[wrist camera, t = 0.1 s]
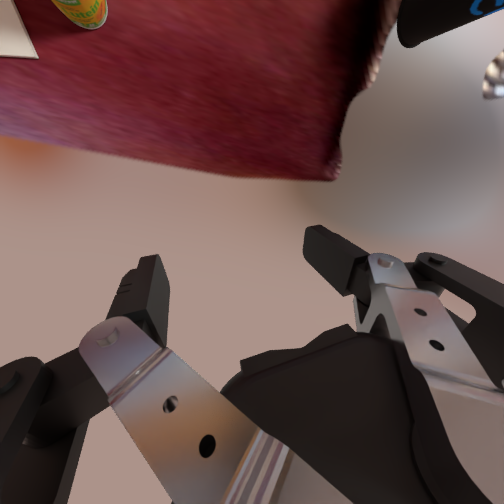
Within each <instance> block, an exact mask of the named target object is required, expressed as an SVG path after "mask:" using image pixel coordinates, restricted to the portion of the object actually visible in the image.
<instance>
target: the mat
mask: <svg viewBox="0 0 504 504" xmlns="http://www.w3.org/2000/svg"><path fill="white" fill-rule="evenodd" d="M0 56H2V57H18V58H35V59H39V58H38V55H37V53H36V51H35V49H34V46H33V44H32V42H31V40H30V37H29V35H28V33H27V30H26V28H25V26H24V24H23V21H22V19H21V17H20V14H19V12H18V10H17V8H16V5H15V3H14V1H13V0H0Z"/></svg>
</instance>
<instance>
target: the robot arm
mask: <svg viewBox="0 0 504 504" xmlns="http://www.w3.org/2000/svg"><path fill="white" fill-rule="evenodd" d="M303 255H304V258H305V259H306V261H307V262H308V263H309V264H310V265H311V266H312V267H313V268H314V269H315V270H316V271H317V272H318V273H320V275H322V277H324V278H325V279H326V280H327V281H328V282H329V283H330V284H331V285H332V286H333V287H334V288H335V289H336V290H337V291H338V292H339V293H340V294H341V295H342V296H343V297H344V296H347V295H350V294H354V295H355V296H354V299H353V304H354V313H355V320H356V327H357V332H355V331H354V330H353V329H352V328H351V327H350V326H349V324H345V325H342V326H339V327H336V328H333V329H330V330H327V331H325V332H323V333H322V334H320V335H319V336H318V337H316V338H315V339H314V340H312V341H311V342H310V343H308V344H307V345H306V346H304V347H302V348H297V349H284V350H283V349H282V350H269V351H266V352H264V353H261V354H258V355H255V356H252V357H249V358H246V359H243V360H240V365H241V371H240V372H239V373H237V374H236V375H235V376H234V377H232V378H231V379H230V380H229V381H228V382H227V384H226V385H225V386H224V387H223V388H222V390H221V391H220V393H219V392H218V391H217V390H216V389H215V388H214V387H212V386H211V385H210V384H209V383H208V382H207V381H206V380H205V379H204V378H202V377H201V376H200V375H199V374H198V373H197V372H196V371H195V370H193V369H192V368H191V367H190V366H189V365H188V364H187V363H185V362H184V361H183V360H182V359H181V358H180V357H179V356H178V355H176V354H175V353H174V352H173V351H172V350H171V349H169V348H168V347H166V343H167V328H168V312H169V297H170V286H169V281H168V278H167V275H166V272H165V269H164V266H163V263H162V261H161V258H160V256H159V255H158V254H156V255H150V256H145V257H141V258H140V260H139V264H138V267H137V269H132V270H130V271H129V272H128V273H127V274H126V275H125V276H124V277H123V278H122V280H121V283H120V285H119V288H118V290H117V295H115V297H114V300H113V302H112V305H111V307H110V310H109V312H108V315H107V317H106V319H105V321H103V322H101V323H99V324H98V325H96V326H95V327H93V328H92V329H91V330H90V331H89V332H88V333H87V334H86V335H85V336H84V337H83V339H82V340H81V342H80V344H79V347H78V348H76V349H74V350H72V351H70V352H68V353H66V354H64V355H62V356H60V357H58V358H55V359H54V360H52V361H49V362H47V363H45V364H44V363H43V362H42V361H41V360H40V359H38V358H37V357H25V358H21V359H18V360H15V361H12V362H10V363H8V364H6V365H4V366H2V367H0V504H67V502H68V498H69V495H70V491H71V487H72V483H73V480H74V476H75V472H76V469H77V465H78V461H79V457H80V454H81V450H82V446H83V442H84V439H85V435H86V431H87V427H88V423H89V420H90V418H92V417H93V416H95V415H96V414H98V413H100V412H101V411H103V410H104V409H106V408H107V407H109V406H111V407H112V409H113V410H114V411H115V413H116V415H117V416H118V418H119V420H120V421H121V423H122V424H123V425H124V427H125V429H126V430H127V432H128V433H129V435H130V436H131V438H132V439H133V441H134V443H135V444H136V445H137V447H138V449H139V450H140V452H141V453H142V455H143V456H144V458H145V459H146V461H147V462H148V464H149V465H150V467H151V469H152V470H153V472H154V473H155V475H156V476H157V478H158V479H159V481H160V482H161V484H162V485H163V487H164V489H165V490H166V492H167V493H168V494H169V496H170V498H171V499H172V503H171V504H504V284H502V283H500V282H498V281H496V280H494V279H492V278H490V277H487V276H486V275H484V274H481V273H479V272H477V271H475V270H473V269H471V268H469V267H467V266H465V265H462V264H461V263H459V262H456V261H455V260H452V259H450V258H448V257H445V256H443V255H440V254H435V253H428V252H424V253H420V254H418V256H417V258H416V260H415V262H408V263H403V262H402V261H401V260H400V259H398V258H396V257H394V256H392V255H388V254H383V253H373V254H369V253H368V252H366V251H364V250H363V249H361V248H359V247H358V246H356V245H355V244H353V243H351V242H350V241H348V240H347V239H345V238H343V237H342V236H340V235H339V234H336V233H333V232H331V231H330V230H328V229H327V228H325V227H323V226H322V225H315V226H310V227H307V228H306V230H305V236H304V244H303ZM444 289H447V290H448V291H450V292H452V293H453V294H455V295H457V296H458V297H460V298H461V299H463V300H465V301H466V302H468V303H469V304H471V305H472V306H473V307H474V309H475V310H476V316H475V318H474V319H473V320H472V321H471V322H470V323H469V324H468V323H467V322H466V321H464V320H462V319H461V318H460V317H458V316H457V315H455V314H454V313H453V312H451V311H450V310H448V309H447V308H445V307H444V306H443V304H442V303H441V301H440V300H439V296H440V295H441V294H442V292H443V291H444Z"/></svg>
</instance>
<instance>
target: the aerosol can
mask: <svg viewBox="0 0 504 504" xmlns="http://www.w3.org/2000/svg"><path fill="white" fill-rule="evenodd" d="M502 9H504V0H403V1H402V3H401V6H400V9H399V14H398V19H397V34H398V38H399V41H400V43H401V44H402V45H403V46H404V47H406V48H413V47H415V46H417V45H419V44H420V43H421V42H423V41H426V40H428V39H431V38H433V37H435V36H438V35H440V34H443V33H445V32H448V31H450V30H453V29H455V28H458V27H460V26H463V25H465V24H467V23H470V22H472V21H475V20H477V19H480V18H482V17H484V16H487V15H490V14H492V13H494V12H497V11H499V10H502Z"/></svg>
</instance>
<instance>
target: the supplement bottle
mask: <svg viewBox="0 0 504 504" xmlns="http://www.w3.org/2000/svg"><path fill="white" fill-rule="evenodd" d="M51 1H52V2H53V3H54V4H55V5H56V6H57V7H58V8H59V9H60V10H61V12H62V13H63V14H64V15H66V16H67V17H68V18H69V19H70V20H71V21H72V22H74V23H75V24H77V25H79V26H81V27H83V28H86V29H97V28H99V27H101V26H102V25H103V24H104V22H105V20H106V18H107V2H106V0H51Z"/></svg>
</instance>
